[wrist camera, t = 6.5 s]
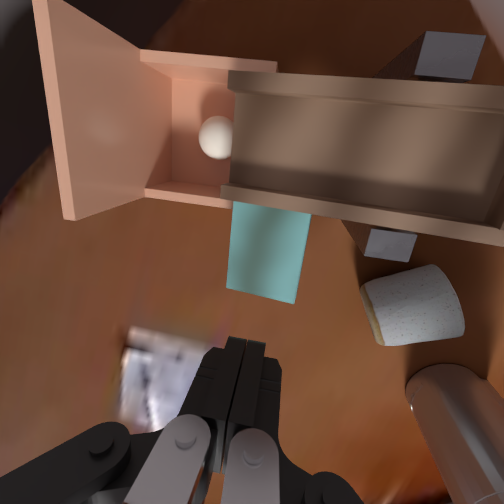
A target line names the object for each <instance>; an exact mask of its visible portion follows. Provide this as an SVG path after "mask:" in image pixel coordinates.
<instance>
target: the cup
mask: <svg viewBox="0 0 504 504" xmlns="http://www.w3.org/2000/svg"><path fill="white" fill-rule="evenodd" d="M32 3H33V10H34V16H35V24H36V31H37V37H38V44H39V51H40V58H41V65H42V72H43V79H44V86H45V92H46V99H47V106H48V113H49V120H50V127H51V134H52V141H53V148H54V155H55V162H56V169H57V176H58V182H59V189H60V196H61V203H62V210H63V217H64V219H67V220H74V221H76V220H79V219H82V218H85V217H88V216H91V215H94V214H96V213H99V212H102V211H105V210H108V209H111V208H114V207H117V206H120V205H123V204H126V203H129V202H131V201H134V200H137V199H140V198H143V197H150V198H157V199H164V200H171V201H178V202H185V203H193V204H200V205H207V206H214V207H221V208H228V209H233V202H234V201H230V200H224V199H220V191H221V185H222V184H225V183H229V175H230V161H231V157H229V158H227V159H223V160H217V159H213V158H211V157H209V156H208V155H206V154H205V153H204V151H203V150H202V148H201V146H200V143H199V130H200V128H201V126H202V124H203V123H204V122H205V121H206V120H207V119H208V118H210V117H213V116H224V117H226V118H228V119H230V120H231V121H232V122H234V109H235V96H236V93H234V92H233V91H231V90H229V89H227V84H228V70H237V71H254V72H272V73H279V70H278V65H277V62H276V61H265V60H254V59H242V58H231V57H220V56H209V55H198V54H187V53H176V52H165V51H154V50H143V49H139V48H137V47H136V46H134V45H132V44H131V43H129V42H128V41H126V40H125V39H123V38H121V37H120V36H118V35H117V34H115V33H113V32H112V31H110V30H109V29H107V28H105V27H104V26H102V25H101V24H99V23H98V22H96V21H94V20H93V19H91V18H90V17H88V16H86V15H85V14H83V13H82V12H80V11H79V10H77V9H75V8H74V7H72V6H71V5H69V4H67V3H66V2H64V1H62V0H32Z"/></svg>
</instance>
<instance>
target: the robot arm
mask: <svg viewBox="0 0 504 504" xmlns="http://www.w3.org/2000/svg"><path fill="white" fill-rule="evenodd" d="M246 344H247V346H246ZM265 346H266V343H263V342H258V341H253V340H248V342H247V339H242V338H236V337H231V336H229V337H228V340H227V343H226V346H225V348H224V349H222V348H217V347H213V348H212V349H210V350H209V351H208V352H207V353H206V354H205V355H204V357H203V359H202V361H201V364H200V366H199V368H198V371H197V373H196V376H195V377H194V380H193V382H192V384H191V387H190V389H189V391H188V393H187V396H186V398H185V400H184V403H183V405H182V407H181V409H180V412H179V414H178V415H177V417H176V418H174V419H173V420H171V421H170V422H169V423H168V424H167V425H166V426H165V428H163V429H161V430H158V431H155V432H150V433H142V434H133V435H130V434H129V431H128V429H127V428H126V427H125V426H124V425H123V424H121V423H118V422H105V423H101V424H98V425H96V426H94V427H92V428H90V429H88V430H86V431H85V432H83V433H81V434H79V435H77V436H75V437H74V438H72V439H70V440H68V441H66V442H64V443H63V444H61V445H59V446H57V447H55V448H53V449H52V450H50V451H48V452H46V453H44V454H42V455H41V456H39V457H37V458H35V459H33V460H31V461H29V462H28V463H26V464H24V465H22V466H20V467H18V468H17V469H15V470H13V471H11V472H9V473H7V474H6V475H4V476H2V477H0V504H204V502H205V497H206V495H207V492H208V488H209V484H210V480H211V476H212V472H216V473H220V471H221V466H222V462H223V469H222V474H225V479H224V486H223V493H222V499H221V504H364V503H363V501H362V500H361V499H360V497H359V496H358V495H357V493H356V492H355V491H354V489H353V488H352V487H351V486H350V484H349V483H348V482H346V481H345V480H344V479H343V478H342V477H340V476H338V475H336V474H334V473H331V472H318V473H316V474H314V475H313V476H312V475H310V474H309V473H307V472H306V471H304V470H302V469H301V468H299V467H297V466H296V465H295V464H293V463H292V462H291V461H290V460H289V459H288V458H287V457H286V456H285V454H284V453H283V451H282V449H281V447H280V444H279V439H278V426H279V409H280V392H281V376H282V369H281V367H280V365H279V362H278V360H277V359H274V358H269V357H264V352H265ZM406 398H407V401H408V403H409V405H410V408H411V410H412V412H413V414H414V416H415V418H416V421H417V423H418V425H419V428H420V430H421V432H422V434H423V436H424V439H425V441H426V443H427V445H428V448H429V450H430V452H431V454H432V456H433V459H434V461H435V463H436V465H437V468H438V470H439V472H440V474H441V477H442V479H443V481H444V483H445V485H446V488H447V490H448V492H449V494H450V497H451V499H452V501H453V503H454V504H504V400H503V398H502V397H501V396H500V395H499V393H498V392H497V391H496V390H495V389H494V387H493V386H492V385H491V384H490V383H489V381H488V380H485V379H481V378H479V377H478V376H477V375H476V374H475V373H474V372H472V371H471V370H469V369H468V368H465V367H463V366H460V365H455V364H438V365H433V366H429V367H427V368H424V369H422V370H420V371H419V372H417V373H416V374H415V375H414V376H413V377H412V378H411V379H410V380H409V382H408V384H407V386H406ZM223 458H224V461H223Z"/></svg>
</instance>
